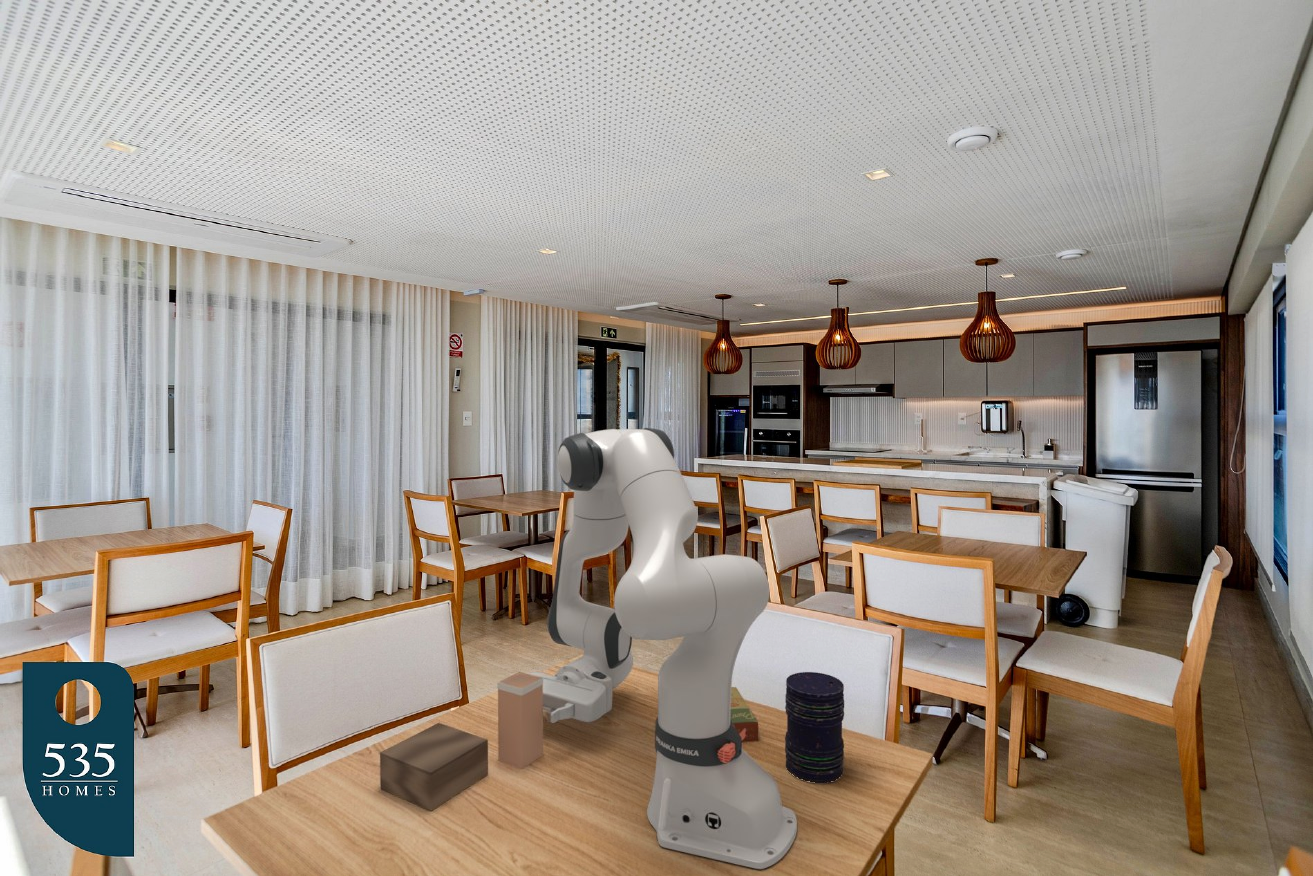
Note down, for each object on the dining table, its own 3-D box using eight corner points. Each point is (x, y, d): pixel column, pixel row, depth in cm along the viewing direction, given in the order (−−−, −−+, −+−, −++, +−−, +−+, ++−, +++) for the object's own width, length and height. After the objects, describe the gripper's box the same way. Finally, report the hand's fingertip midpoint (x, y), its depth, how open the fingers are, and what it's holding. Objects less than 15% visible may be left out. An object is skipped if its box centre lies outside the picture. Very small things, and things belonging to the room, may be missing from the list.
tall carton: (543, 754, 117) (543, 677, 116) (522, 769, 112) (521, 688, 112) (519, 747, 120) (519, 671, 119) (497, 760, 115) (497, 682, 114)
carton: (737, 705, 138) (737, 685, 138) (759, 742, 122) (759, 720, 122) (698, 707, 137) (698, 687, 137) (716, 745, 121) (716, 723, 121)
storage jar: (791, 784, 107) (792, 695, 107) (779, 754, 117) (780, 672, 117) (851, 784, 108) (852, 694, 107) (834, 753, 117) (835, 671, 117)
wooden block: (488, 774, 110) (487, 739, 110) (431, 811, 100) (430, 772, 100) (438, 756, 116) (438, 722, 116) (380, 788, 106) (380, 752, 106)
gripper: (536, 659, 135) (486, 682, 123) (618, 679, 124) (573, 707, 112) (536, 689, 135) (487, 716, 123) (618, 712, 124) (573, 743, 112)
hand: (529, 711), depth 117 cm, fingers open, 8 cm apart
